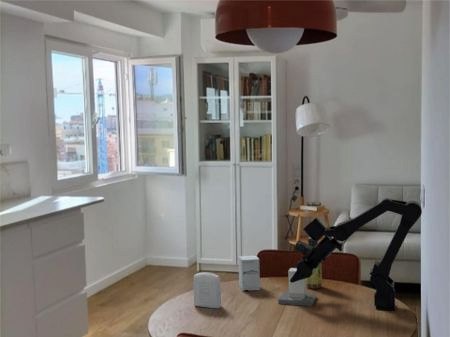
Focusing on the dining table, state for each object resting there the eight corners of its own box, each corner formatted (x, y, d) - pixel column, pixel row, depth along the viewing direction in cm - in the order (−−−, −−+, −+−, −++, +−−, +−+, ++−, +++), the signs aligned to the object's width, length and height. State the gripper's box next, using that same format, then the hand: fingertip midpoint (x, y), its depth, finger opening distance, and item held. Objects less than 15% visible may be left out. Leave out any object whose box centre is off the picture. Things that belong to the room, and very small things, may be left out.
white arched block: (223, 305, 193) (221, 272, 192) (218, 309, 189) (217, 275, 188) (197, 302, 197) (196, 270, 196) (192, 306, 193) (191, 273, 192)
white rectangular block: (306, 295, 197) (305, 268, 196) (303, 298, 193) (303, 271, 192) (291, 294, 199) (290, 267, 198) (288, 297, 195) (288, 270, 194)
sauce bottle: (322, 289, 208) (321, 239, 207) (306, 289, 209) (304, 239, 208) (321, 284, 215) (320, 236, 213) (306, 284, 216) (305, 236, 214)
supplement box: (241, 291, 209) (241, 260, 208) (239, 286, 216) (238, 255, 215) (260, 290, 210) (259, 258, 209) (256, 285, 217) (256, 254, 216)
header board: (316, 297, 198) (316, 289, 198) (311, 306, 189) (311, 297, 189) (284, 295, 203) (284, 287, 202) (278, 303, 193) (278, 295, 193)
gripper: (311, 229, 202) (283, 256, 206) (301, 239, 184) (271, 268, 188) (332, 250, 199) (304, 277, 204) (325, 262, 182) (294, 291, 186)
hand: (293, 278), depth 196 cm, fingers open, 9 cm apart
